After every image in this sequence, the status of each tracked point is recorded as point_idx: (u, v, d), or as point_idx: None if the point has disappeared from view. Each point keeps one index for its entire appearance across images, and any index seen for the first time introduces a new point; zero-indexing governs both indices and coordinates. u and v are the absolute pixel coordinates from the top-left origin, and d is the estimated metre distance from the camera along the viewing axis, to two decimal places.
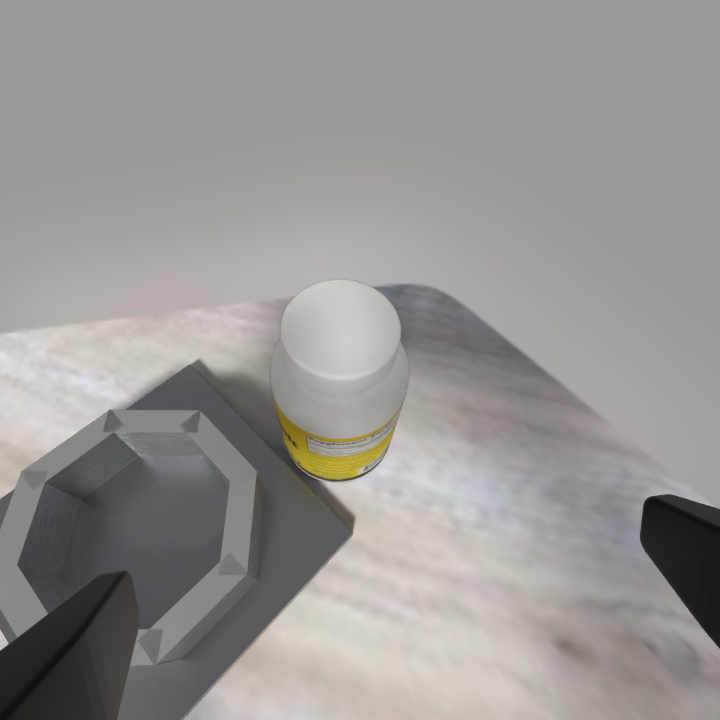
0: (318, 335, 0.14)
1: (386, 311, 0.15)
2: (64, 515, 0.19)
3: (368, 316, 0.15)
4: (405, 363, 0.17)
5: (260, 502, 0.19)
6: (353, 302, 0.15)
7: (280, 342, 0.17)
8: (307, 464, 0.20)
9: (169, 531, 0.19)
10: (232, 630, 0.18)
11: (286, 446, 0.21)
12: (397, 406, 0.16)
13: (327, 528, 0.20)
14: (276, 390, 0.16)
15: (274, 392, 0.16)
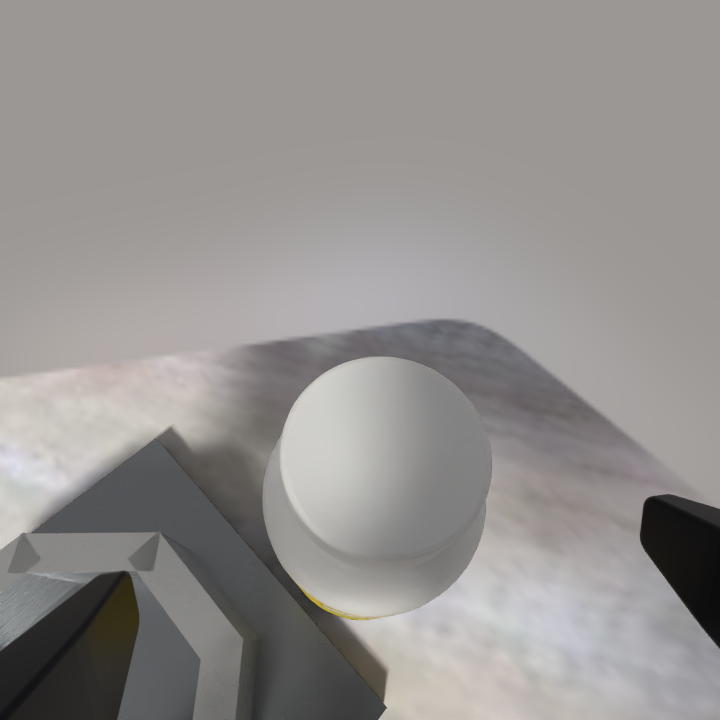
0: (347, 466, 0.08)
1: (463, 416, 0.09)
2: None
3: (432, 428, 0.09)
4: None
5: (249, 672, 0.13)
6: (405, 400, 0.09)
7: (279, 448, 0.11)
8: (319, 606, 0.13)
9: None
10: None
11: None
12: (471, 558, 0.10)
13: (349, 700, 0.13)
14: (272, 535, 0.10)
15: (269, 536, 0.10)
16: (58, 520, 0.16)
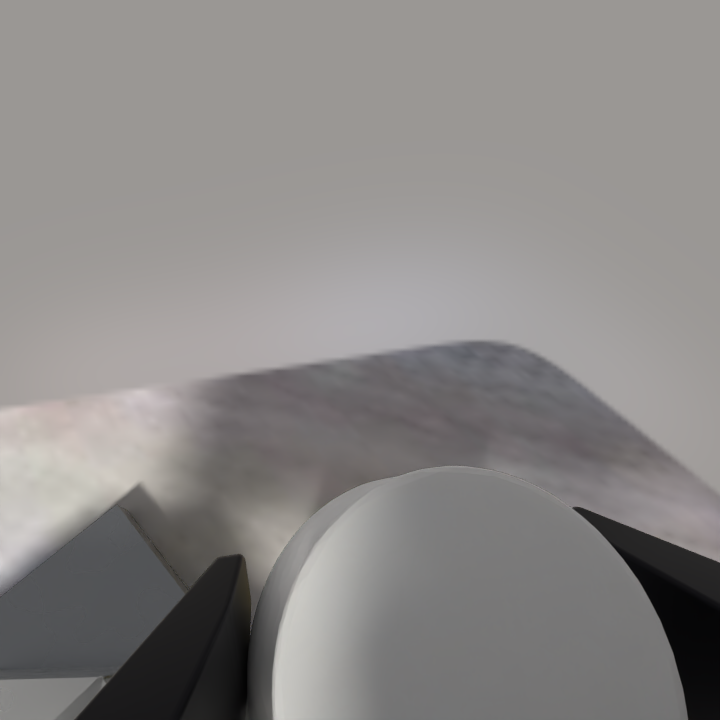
0: None
1: (615, 594, 0.05)
2: None
3: (561, 623, 0.04)
4: None
5: None
6: (505, 559, 0.05)
7: (275, 591, 0.07)
8: None
9: None
10: None
11: None
12: None
13: None
14: None
15: None
16: None
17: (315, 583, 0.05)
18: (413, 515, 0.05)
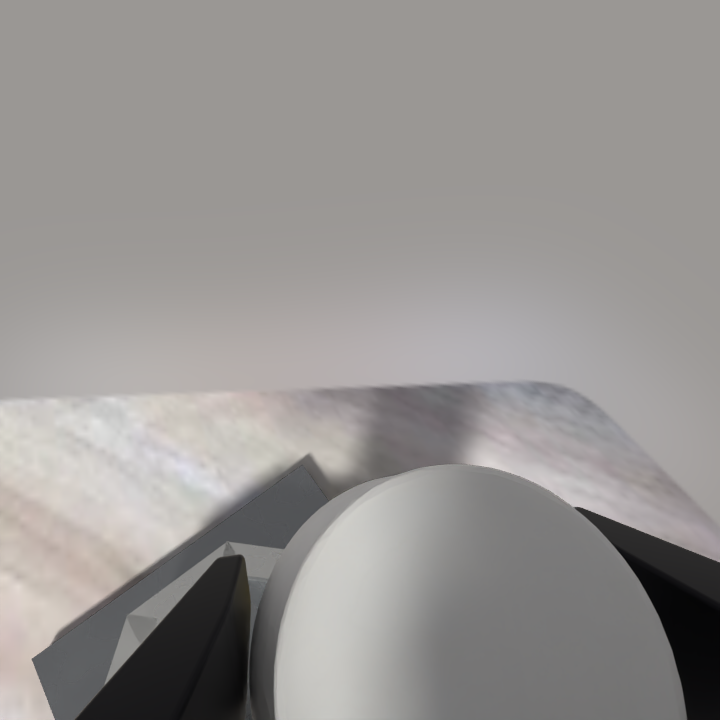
0: (407, 718, 0.04)
1: (614, 591, 0.05)
2: None
3: (561, 620, 0.05)
4: None
5: None
6: (505, 556, 0.05)
7: (277, 588, 0.07)
8: None
9: None
10: None
11: None
12: None
13: None
14: None
15: None
16: (227, 525, 0.19)
17: (316, 580, 0.05)
18: (413, 513, 0.05)
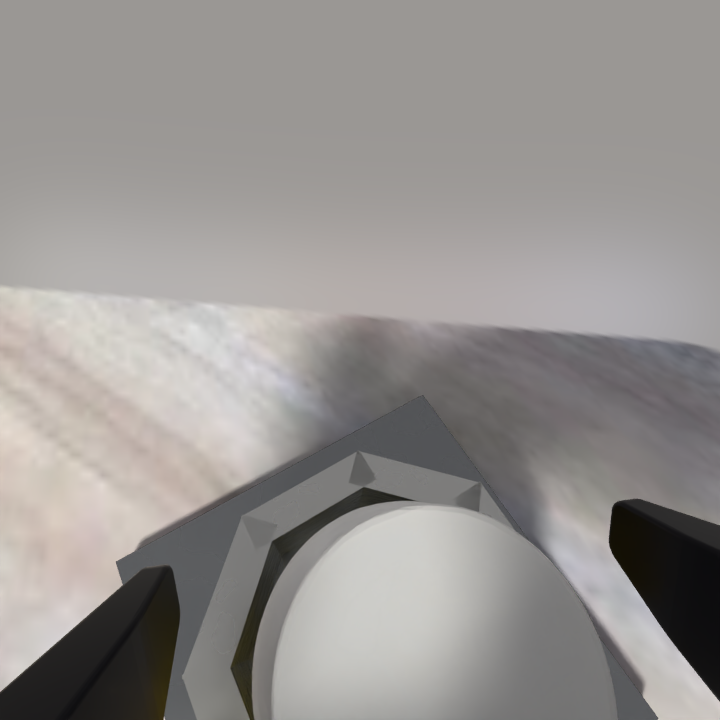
0: None
1: (561, 616, 0.06)
2: (269, 580, 0.13)
3: (514, 641, 0.05)
4: None
5: None
6: (469, 586, 0.06)
7: (276, 608, 0.07)
8: None
9: None
10: None
11: None
12: None
13: (619, 698, 0.13)
14: None
15: None
16: (338, 448, 0.17)
17: (307, 608, 0.05)
18: (391, 548, 0.06)
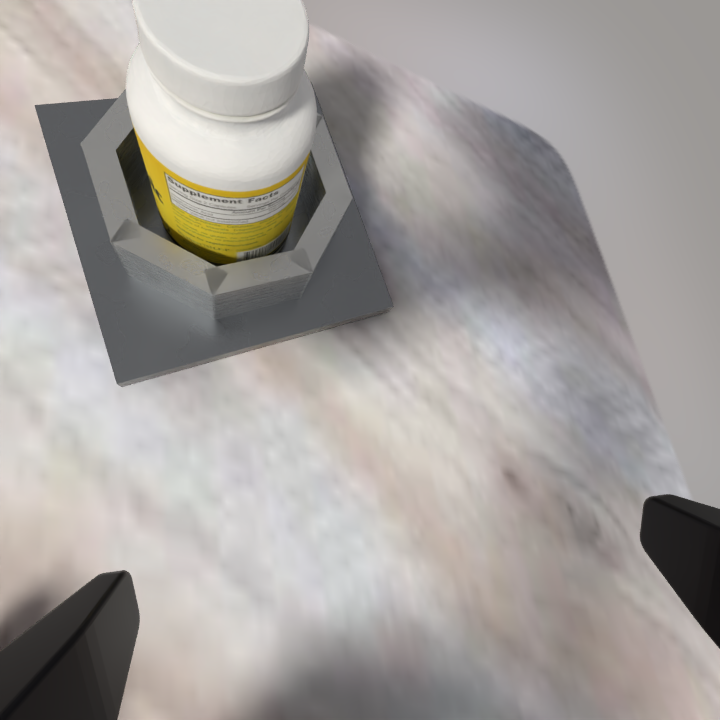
0: (187, 6, 0.10)
1: (294, 13, 0.11)
2: None
3: (265, 10, 0.11)
4: (310, 118, 0.13)
5: None
6: None
7: None
8: (175, 231, 0.17)
9: None
10: (264, 321, 0.19)
11: None
12: (286, 167, 0.13)
13: (374, 291, 0.21)
14: (129, 94, 0.12)
15: (127, 98, 0.12)
16: None
17: None
18: None
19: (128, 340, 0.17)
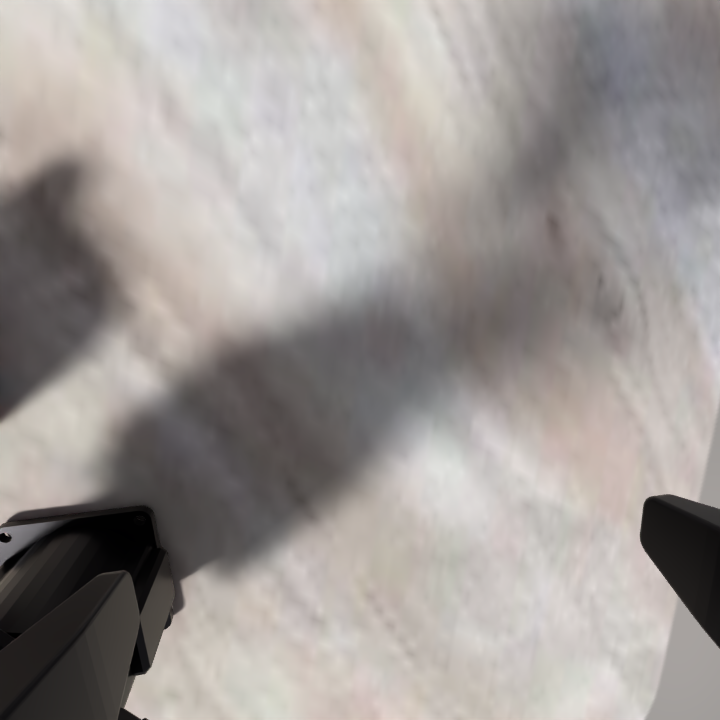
0: None
1: None
2: None
3: None
4: None
5: None
6: None
7: None
8: None
9: None
10: None
11: None
12: None
13: None
14: None
15: None
16: None
17: None
18: None
19: None
